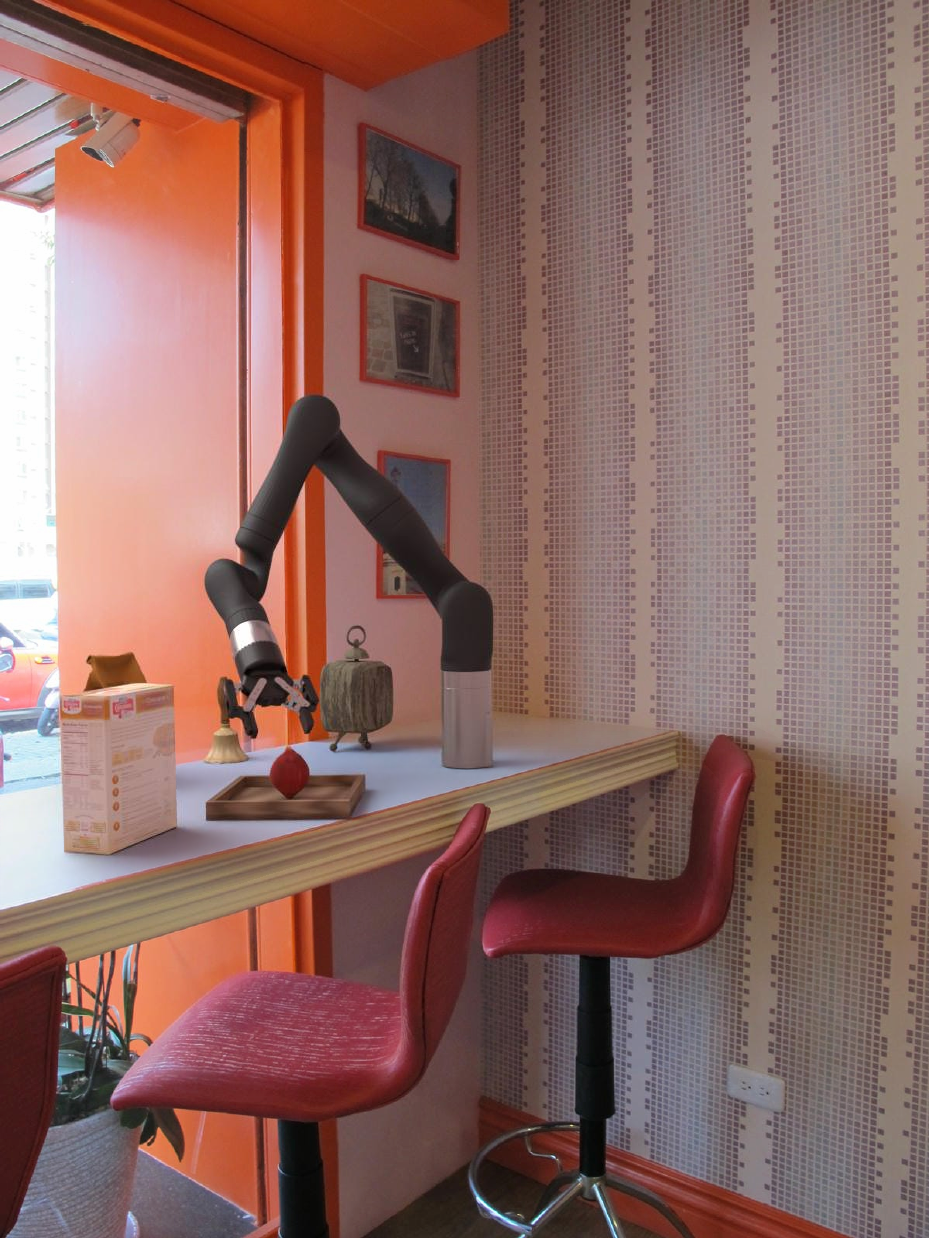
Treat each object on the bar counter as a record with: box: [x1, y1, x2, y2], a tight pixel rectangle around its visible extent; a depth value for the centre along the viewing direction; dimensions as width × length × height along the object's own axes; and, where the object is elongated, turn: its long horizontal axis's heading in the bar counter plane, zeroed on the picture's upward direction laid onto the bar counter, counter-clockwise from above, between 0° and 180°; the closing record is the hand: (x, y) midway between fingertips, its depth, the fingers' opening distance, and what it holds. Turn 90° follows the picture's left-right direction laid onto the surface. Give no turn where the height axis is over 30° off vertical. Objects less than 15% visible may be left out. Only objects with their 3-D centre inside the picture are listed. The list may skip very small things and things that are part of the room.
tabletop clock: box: [319, 624, 394, 752], centre depth 198 cm, size 14×9×25 cm, turn 154°
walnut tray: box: [205, 773, 366, 821], centre depth 146 cm, size 20×20×2 cm
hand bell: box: [203, 676, 249, 764], centre depth 186 cm, size 8×8×16 cm
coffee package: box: [82, 650, 148, 692], centre depth 164 cm, size 10×12×22 cm
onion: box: [269, 744, 311, 799], centre depth 146 cm, size 6×6×8 cm
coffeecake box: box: [58, 682, 178, 856], centre depth 126 cm, size 15×7×20 cm, turn 163°
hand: (282, 733), depth 150 cm, fingers open, 8 cm apart
